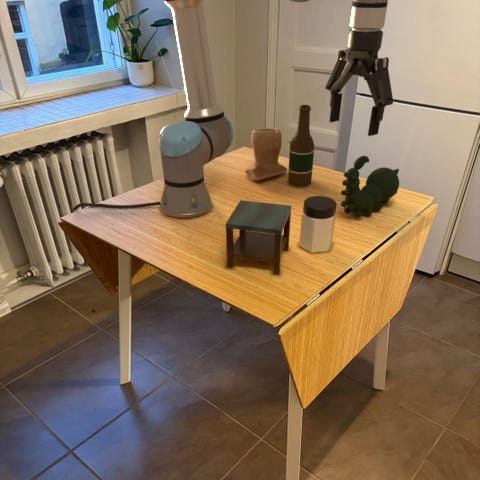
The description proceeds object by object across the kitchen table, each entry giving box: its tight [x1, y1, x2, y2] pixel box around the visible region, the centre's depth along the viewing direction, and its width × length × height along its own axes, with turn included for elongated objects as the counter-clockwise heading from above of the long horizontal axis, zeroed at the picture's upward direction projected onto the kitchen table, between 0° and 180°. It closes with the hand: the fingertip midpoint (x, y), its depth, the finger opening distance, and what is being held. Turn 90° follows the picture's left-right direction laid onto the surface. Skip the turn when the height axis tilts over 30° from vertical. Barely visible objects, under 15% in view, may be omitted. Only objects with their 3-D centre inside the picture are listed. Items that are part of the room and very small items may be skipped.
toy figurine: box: [340, 155, 400, 218], centre depth 134 cm, size 9×19×25 cm
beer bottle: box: [287, 104, 315, 188], centre depth 148 cm, size 8×8×24 cm
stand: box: [225, 199, 292, 276], centre depth 115 cm, size 13×13×12 cm
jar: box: [298, 195, 337, 254], centre depth 120 cm, size 9×8×12 cm
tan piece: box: [244, 127, 289, 182], centre depth 157 cm, size 15×12×15 cm
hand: (352, 127), depth 118 cm, fingers open, 13 cm apart
